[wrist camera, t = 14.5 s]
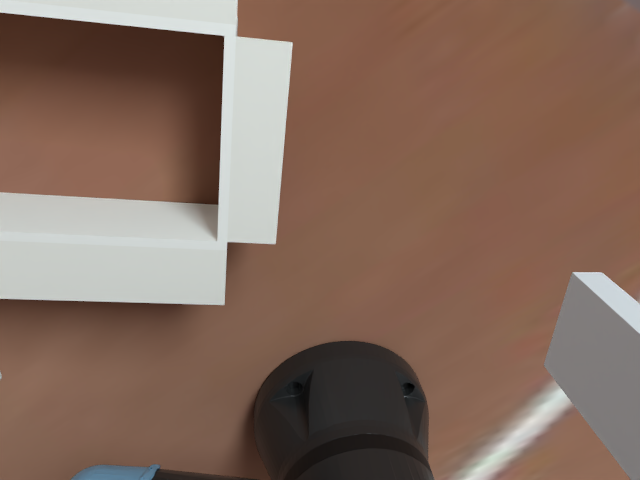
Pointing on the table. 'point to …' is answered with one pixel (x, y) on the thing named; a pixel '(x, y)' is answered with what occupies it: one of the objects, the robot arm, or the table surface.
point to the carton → (154, 216)
